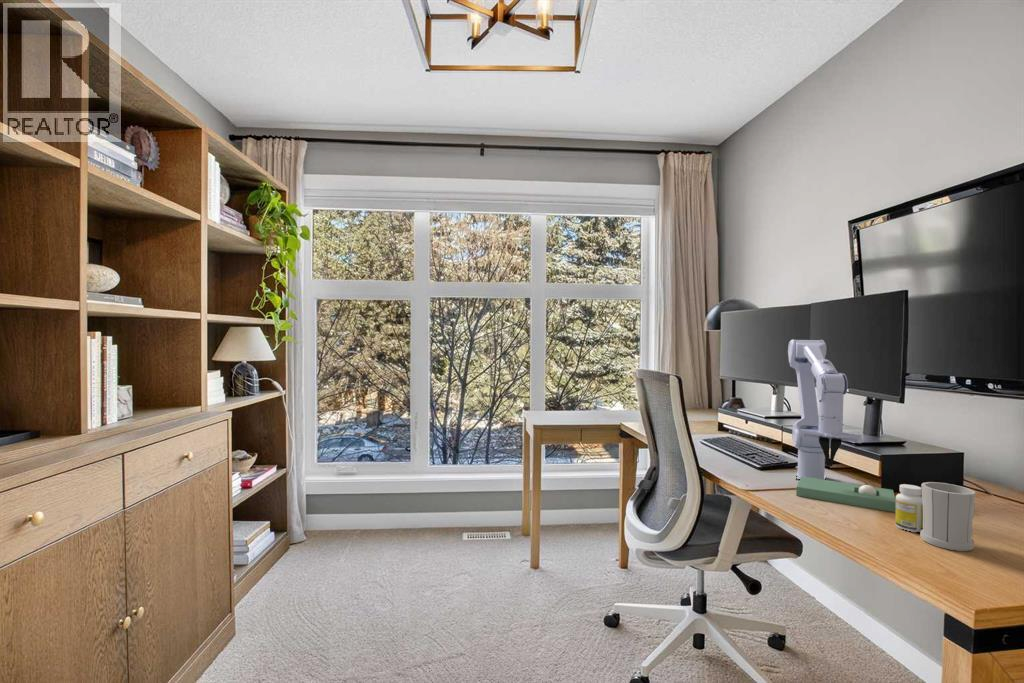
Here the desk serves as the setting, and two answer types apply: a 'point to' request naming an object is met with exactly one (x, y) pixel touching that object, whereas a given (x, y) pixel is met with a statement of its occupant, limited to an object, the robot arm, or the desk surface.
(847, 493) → the putting board
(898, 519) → the supplement bottle
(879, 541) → the desk surface
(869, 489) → the ball
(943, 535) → the cup
